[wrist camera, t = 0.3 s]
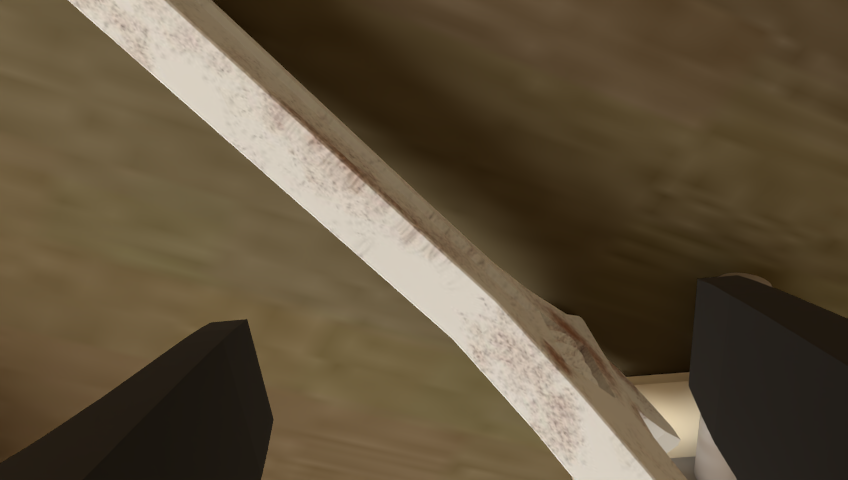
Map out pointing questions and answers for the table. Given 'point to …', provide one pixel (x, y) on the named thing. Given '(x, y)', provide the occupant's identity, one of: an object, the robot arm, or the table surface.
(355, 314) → the table surface
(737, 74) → the table surface
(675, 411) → the chuck board
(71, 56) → the table surface
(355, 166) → the wrench
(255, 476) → the robot arm
